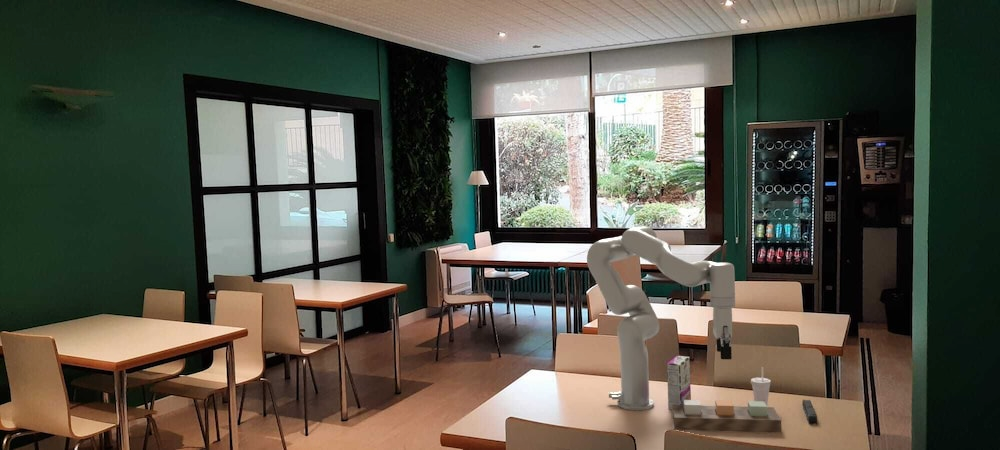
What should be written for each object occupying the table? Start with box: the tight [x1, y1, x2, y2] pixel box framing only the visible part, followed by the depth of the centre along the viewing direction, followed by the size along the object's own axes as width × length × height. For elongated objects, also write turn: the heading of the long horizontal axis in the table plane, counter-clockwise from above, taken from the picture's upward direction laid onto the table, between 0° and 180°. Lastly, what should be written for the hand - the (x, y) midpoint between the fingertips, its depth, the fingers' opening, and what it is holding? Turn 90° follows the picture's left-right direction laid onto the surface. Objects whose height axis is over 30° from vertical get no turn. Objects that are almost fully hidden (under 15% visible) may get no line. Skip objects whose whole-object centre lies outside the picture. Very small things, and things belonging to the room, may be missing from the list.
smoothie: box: [750, 367, 772, 407], centre depth 238 cm, size 6×6×14 cm
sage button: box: [747, 400, 768, 416], centre depth 222 cm, size 5×5×4 cm
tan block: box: [715, 399, 735, 416], centre depth 224 cm, size 5×5×4 cm
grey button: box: [684, 399, 702, 415], centre depth 226 cm, size 5×5×4 cm
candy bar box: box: [666, 355, 692, 411], centre depth 243 cm, size 11×5×16 cm, turn 148°
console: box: [671, 405, 783, 434], centre depth 224 cm, size 32×12×4 cm, turn 79°
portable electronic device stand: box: [801, 399, 818, 425], centre depth 230 cm, size 18×3×3 cm, turn 163°
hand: (724, 355), depth 223 cm, fingers open, 9 cm apart
